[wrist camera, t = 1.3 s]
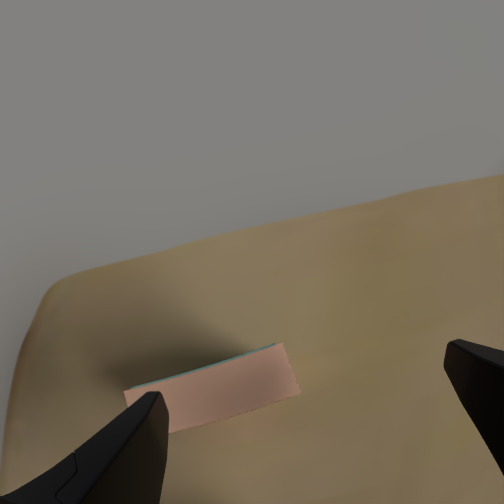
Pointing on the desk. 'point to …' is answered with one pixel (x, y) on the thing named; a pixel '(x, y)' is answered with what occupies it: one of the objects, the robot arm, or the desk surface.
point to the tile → (224, 388)
